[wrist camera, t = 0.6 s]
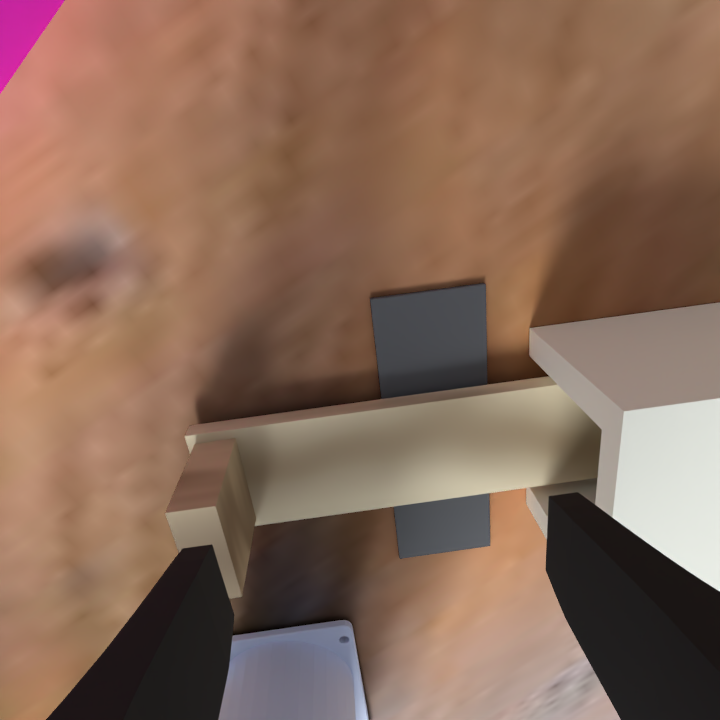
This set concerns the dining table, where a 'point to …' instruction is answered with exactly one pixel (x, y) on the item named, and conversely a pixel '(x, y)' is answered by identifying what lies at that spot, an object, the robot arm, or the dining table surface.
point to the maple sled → (373, 460)
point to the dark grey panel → (431, 374)
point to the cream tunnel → (646, 425)
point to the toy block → (21, 31)
